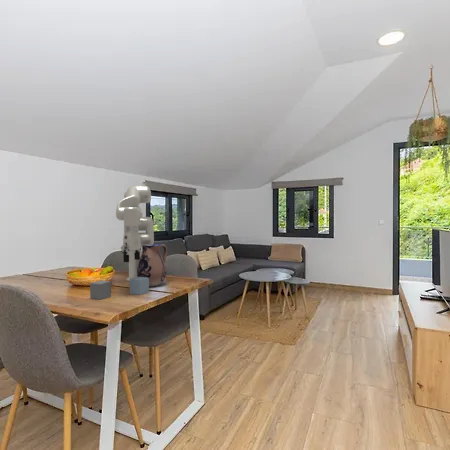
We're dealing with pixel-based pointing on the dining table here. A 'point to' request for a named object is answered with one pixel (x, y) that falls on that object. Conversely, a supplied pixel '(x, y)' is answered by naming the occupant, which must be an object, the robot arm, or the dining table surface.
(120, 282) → the dining table surface
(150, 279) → the ceramic pitcher
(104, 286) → the dark grey block
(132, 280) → the blue-gray block
